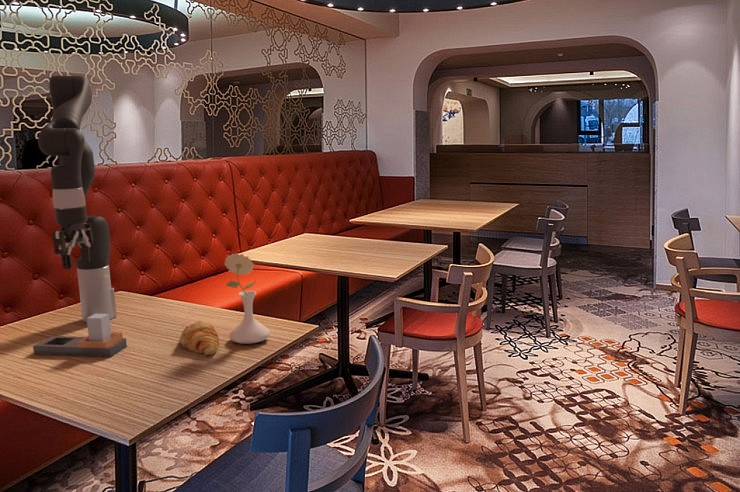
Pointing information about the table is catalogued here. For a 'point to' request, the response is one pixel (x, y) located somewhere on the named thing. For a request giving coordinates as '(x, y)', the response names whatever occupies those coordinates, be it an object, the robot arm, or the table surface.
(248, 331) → the flower in vase
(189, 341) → the croissant
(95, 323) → the peg
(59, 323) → the table surface
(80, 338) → the socket
